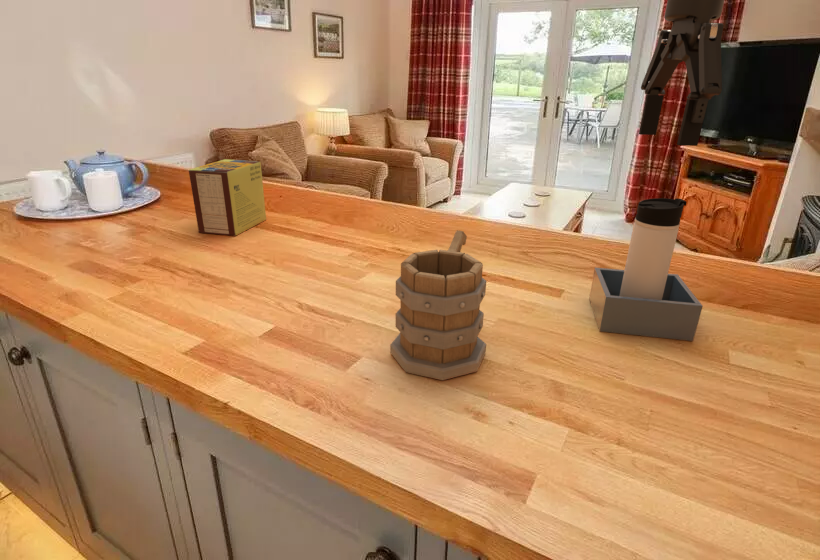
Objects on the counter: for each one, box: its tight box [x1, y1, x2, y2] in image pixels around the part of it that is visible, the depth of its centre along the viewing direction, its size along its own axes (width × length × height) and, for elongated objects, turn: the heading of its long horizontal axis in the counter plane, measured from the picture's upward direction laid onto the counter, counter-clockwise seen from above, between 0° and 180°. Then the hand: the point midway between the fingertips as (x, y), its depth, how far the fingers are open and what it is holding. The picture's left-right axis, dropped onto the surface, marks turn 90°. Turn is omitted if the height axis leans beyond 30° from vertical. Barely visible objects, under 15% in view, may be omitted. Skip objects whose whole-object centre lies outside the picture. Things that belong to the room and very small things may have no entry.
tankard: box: [389, 229, 487, 381], centre depth 70 cm, size 20×13×15 cm, turn 160°
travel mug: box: [619, 197, 688, 300], centre depth 78 cm, size 6×7×20 cm
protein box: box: [188, 158, 267, 237], centre depth 123 cm, size 10×15×16 cm
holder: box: [588, 267, 703, 342], centre depth 80 cm, size 14×13×6 cm
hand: (665, 139), depth 80 cm, fingers open, 13 cm apart
